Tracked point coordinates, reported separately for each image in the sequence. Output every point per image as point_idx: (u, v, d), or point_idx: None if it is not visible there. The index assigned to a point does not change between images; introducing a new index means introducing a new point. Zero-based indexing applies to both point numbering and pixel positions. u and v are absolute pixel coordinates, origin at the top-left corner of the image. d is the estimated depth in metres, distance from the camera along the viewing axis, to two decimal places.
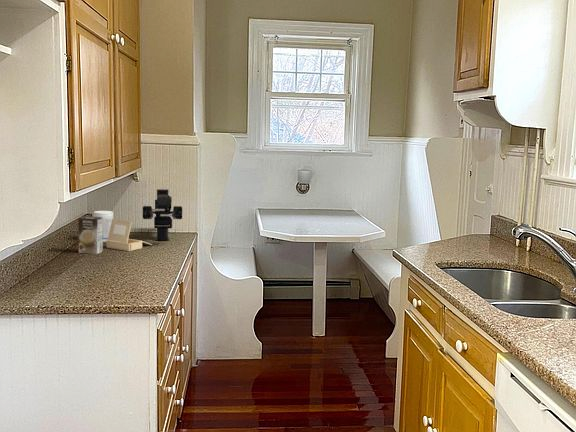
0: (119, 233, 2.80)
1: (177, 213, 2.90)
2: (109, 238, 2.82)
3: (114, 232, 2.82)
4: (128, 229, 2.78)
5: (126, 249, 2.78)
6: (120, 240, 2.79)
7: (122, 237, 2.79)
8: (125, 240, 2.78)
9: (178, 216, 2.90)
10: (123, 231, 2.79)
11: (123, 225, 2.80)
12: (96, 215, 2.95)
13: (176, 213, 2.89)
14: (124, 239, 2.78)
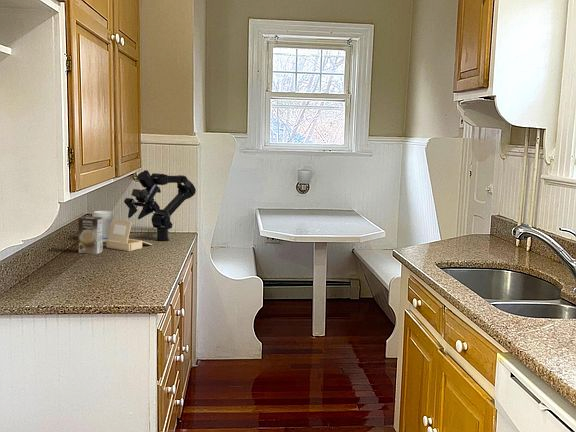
0: (119, 233, 2.80)
1: (148, 209, 2.89)
2: (109, 238, 2.82)
3: (114, 232, 2.82)
4: (128, 229, 2.78)
5: (126, 249, 2.78)
6: (120, 240, 2.79)
7: (122, 237, 2.79)
8: (125, 240, 2.78)
9: (151, 211, 2.90)
10: (123, 231, 2.79)
11: (123, 225, 2.80)
12: (96, 215, 2.95)
13: (148, 209, 2.89)
14: (124, 239, 2.78)
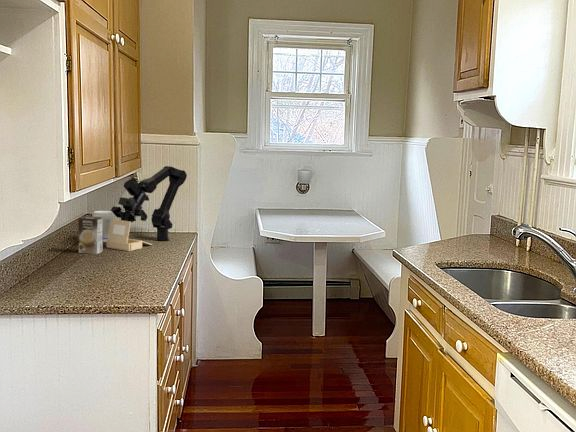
0: (118, 232, 2.80)
1: (131, 217, 2.83)
2: (109, 238, 2.82)
3: (114, 232, 2.81)
4: (127, 229, 2.78)
5: (126, 249, 2.78)
6: (120, 240, 2.79)
7: (122, 237, 2.79)
8: (125, 240, 2.78)
9: (133, 219, 2.84)
10: (123, 231, 2.79)
11: (122, 225, 2.80)
12: (96, 215, 2.95)
13: (130, 217, 2.83)
14: (124, 239, 2.78)
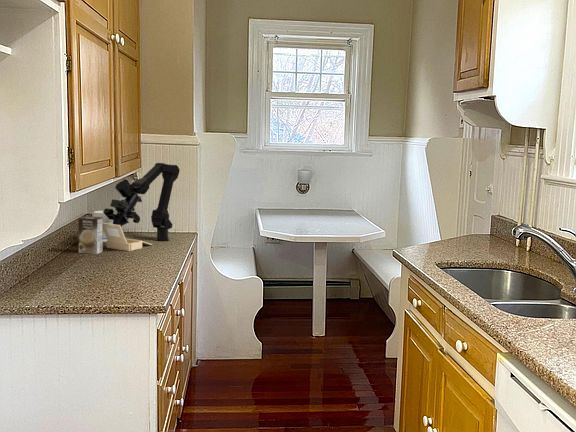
0: (114, 235, 2.78)
1: (124, 219, 2.79)
2: (108, 239, 2.82)
3: (109, 234, 2.79)
4: (121, 232, 2.74)
5: (126, 249, 2.78)
6: (119, 241, 2.79)
7: (120, 238, 2.78)
8: (124, 241, 2.77)
9: (126, 221, 2.80)
10: (117, 233, 2.76)
11: (114, 228, 2.75)
12: (96, 215, 2.95)
13: (123, 219, 2.79)
14: (122, 240, 2.77)
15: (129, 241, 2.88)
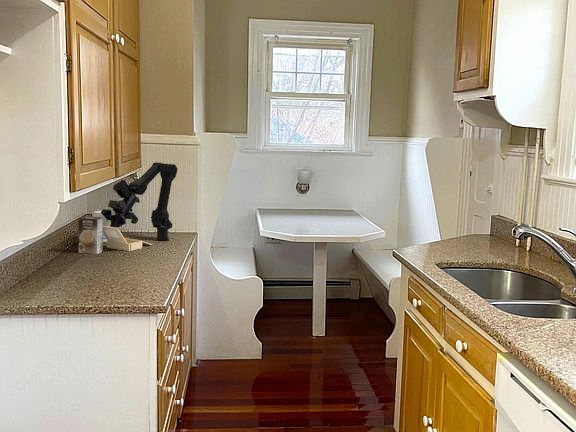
0: (113, 236, 2.77)
1: (121, 220, 2.78)
2: (108, 239, 2.82)
3: (109, 235, 2.79)
4: (119, 234, 2.74)
5: (126, 249, 2.78)
6: (119, 241, 2.79)
7: (119, 239, 2.77)
8: (124, 241, 2.77)
9: (124, 222, 2.79)
10: (116, 235, 2.76)
11: (112, 231, 2.74)
12: (96, 215, 2.95)
13: (121, 220, 2.78)
14: (122, 241, 2.77)
15: (129, 241, 2.88)
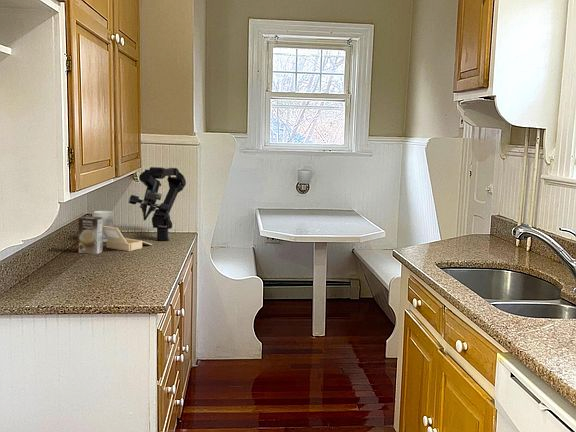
0: (113, 236, 2.77)
1: None
2: (108, 239, 2.82)
3: (109, 235, 2.79)
4: (119, 234, 2.74)
5: (126, 249, 2.78)
6: (119, 241, 2.79)
7: (119, 239, 2.77)
8: (124, 241, 2.77)
9: (153, 210, 2.93)
10: (116, 235, 2.76)
11: (112, 231, 2.74)
12: (96, 215, 2.95)
13: None
14: (122, 241, 2.77)
15: (129, 241, 2.88)
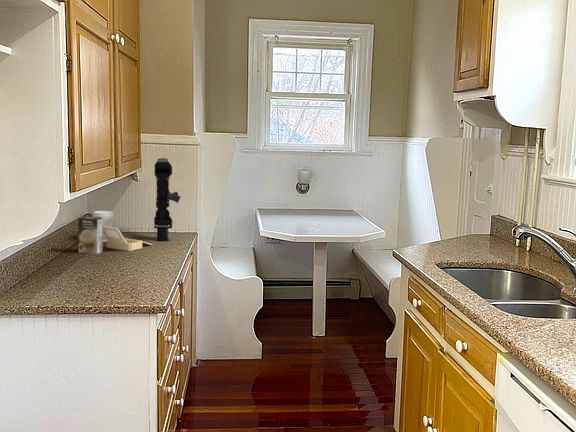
0: (113, 236, 2.77)
1: None
2: (108, 239, 2.82)
3: (109, 235, 2.79)
4: (119, 234, 2.74)
5: (126, 249, 2.78)
6: (119, 241, 2.79)
7: (119, 239, 2.77)
8: (124, 241, 2.77)
9: None
10: (116, 235, 2.76)
11: (112, 231, 2.74)
12: (96, 215, 2.95)
13: None
14: (122, 241, 2.77)
15: (129, 241, 2.88)
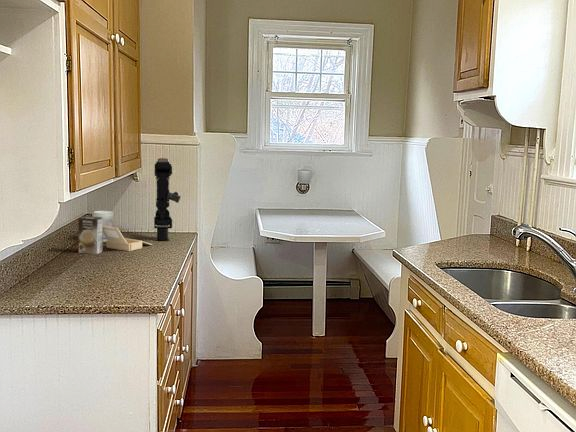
0: (113, 236, 2.77)
1: None
2: (108, 239, 2.82)
3: (109, 235, 2.79)
4: (119, 234, 2.74)
5: (126, 249, 2.78)
6: (119, 241, 2.79)
7: (119, 239, 2.77)
8: (124, 241, 2.77)
9: None
10: (116, 235, 2.76)
11: (112, 231, 2.74)
12: (96, 215, 2.95)
13: None
14: (122, 241, 2.77)
15: (129, 241, 2.88)
